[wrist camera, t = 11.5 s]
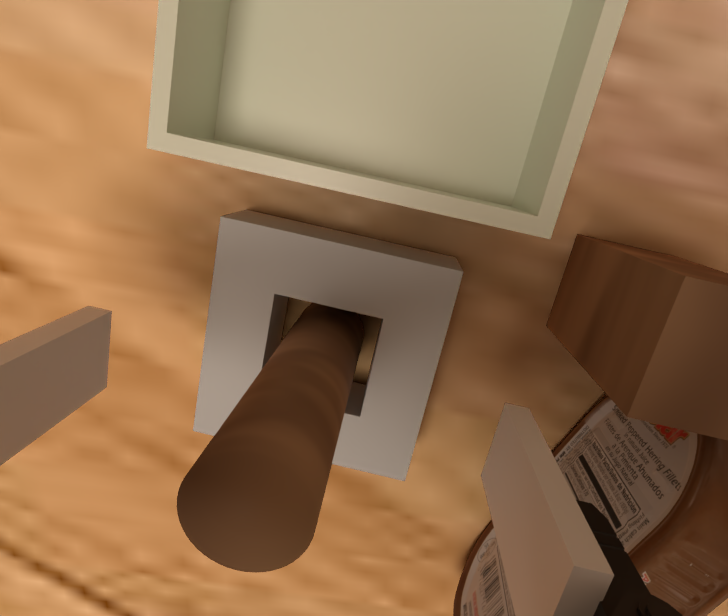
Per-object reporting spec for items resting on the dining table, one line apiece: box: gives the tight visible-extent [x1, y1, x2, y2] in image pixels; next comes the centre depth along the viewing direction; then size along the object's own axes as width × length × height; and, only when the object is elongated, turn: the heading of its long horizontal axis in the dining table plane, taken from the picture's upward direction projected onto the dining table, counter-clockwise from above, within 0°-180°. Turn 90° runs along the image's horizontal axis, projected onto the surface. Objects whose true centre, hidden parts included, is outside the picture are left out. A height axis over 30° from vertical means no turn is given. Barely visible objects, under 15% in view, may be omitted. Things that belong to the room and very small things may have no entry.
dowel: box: [177, 303, 364, 572], centre depth 16 cm, size 3×3×12 cm
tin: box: [453, 396, 728, 616], centre depth 19 cm, size 15×3×8 cm, turn 148°
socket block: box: [193, 210, 463, 481], centre depth 20 cm, size 9×9×3 cm
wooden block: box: [546, 234, 728, 440], centre depth 17 cm, size 4×4×8 cm
